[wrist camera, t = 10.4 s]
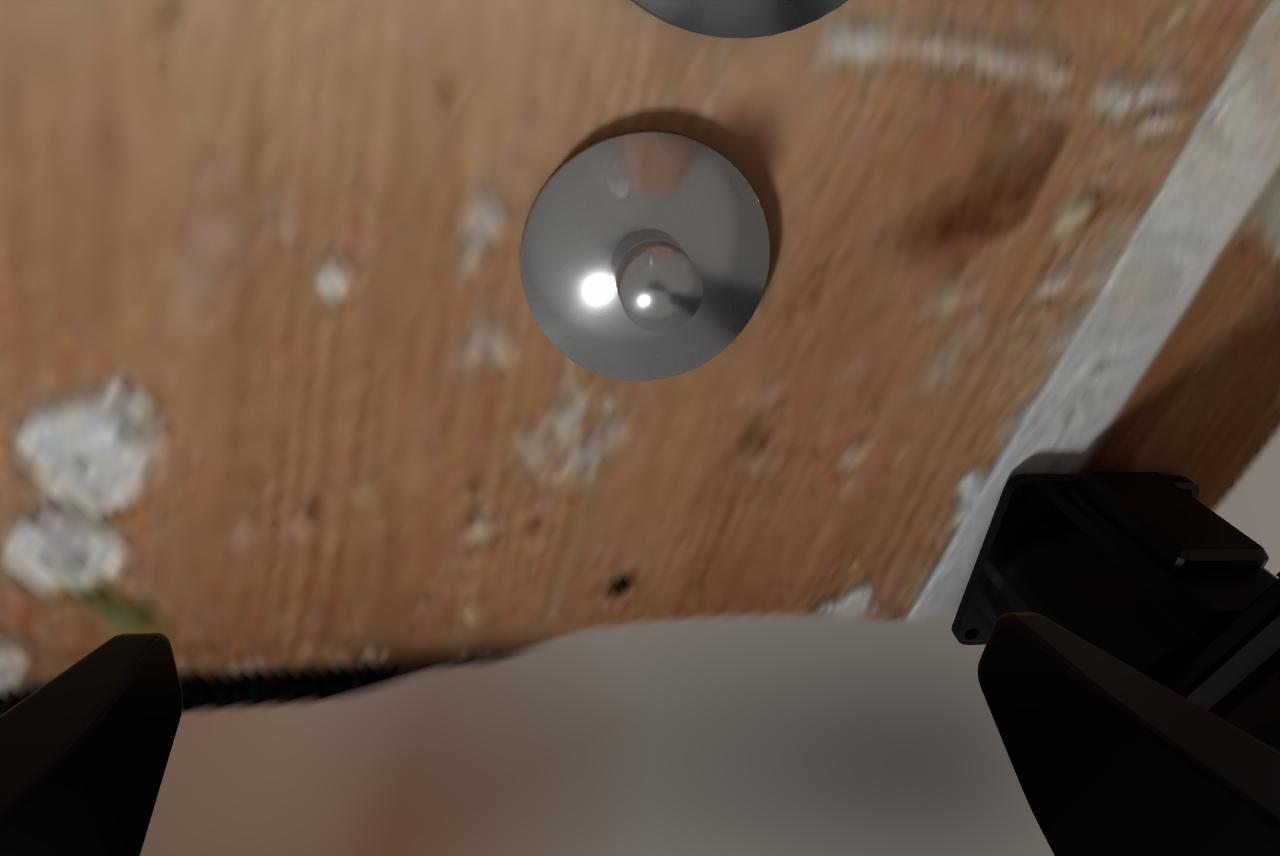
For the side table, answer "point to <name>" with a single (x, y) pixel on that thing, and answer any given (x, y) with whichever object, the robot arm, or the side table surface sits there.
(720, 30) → the hub
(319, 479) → the side table surface
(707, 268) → the metal knobbed lid
